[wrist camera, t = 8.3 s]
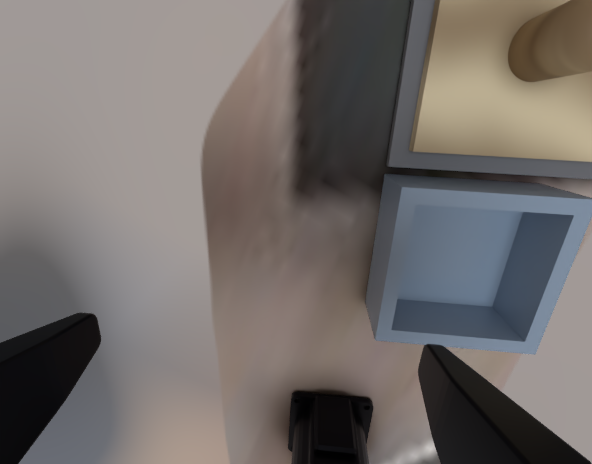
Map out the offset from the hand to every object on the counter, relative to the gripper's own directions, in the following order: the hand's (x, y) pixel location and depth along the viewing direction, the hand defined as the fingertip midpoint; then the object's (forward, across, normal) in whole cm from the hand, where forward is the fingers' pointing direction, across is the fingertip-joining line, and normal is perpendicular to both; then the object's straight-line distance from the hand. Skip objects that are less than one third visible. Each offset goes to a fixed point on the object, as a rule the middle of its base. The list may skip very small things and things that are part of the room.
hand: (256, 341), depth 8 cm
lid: (+11, -11, -10) cm, 19 cm away
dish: (+12, -10, +2) cm, 16 cm away
